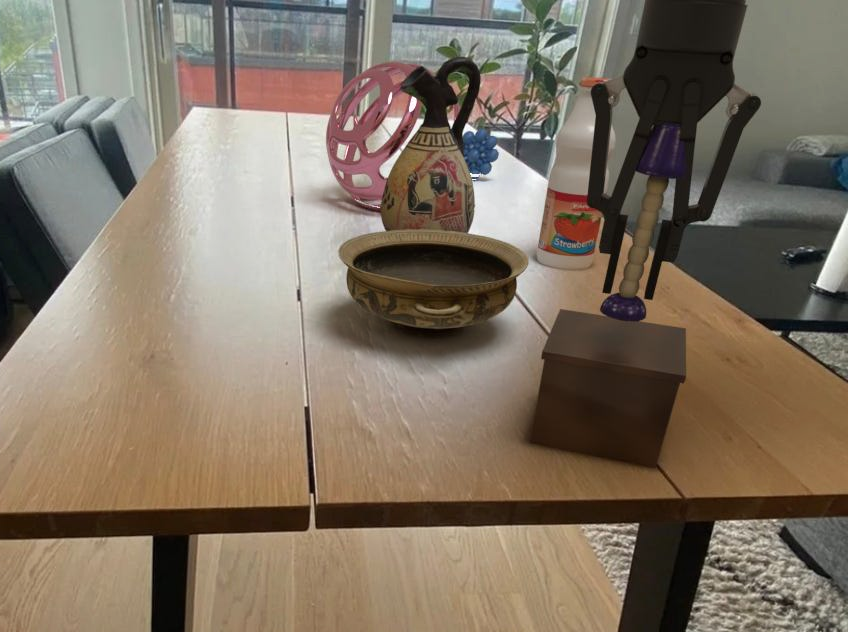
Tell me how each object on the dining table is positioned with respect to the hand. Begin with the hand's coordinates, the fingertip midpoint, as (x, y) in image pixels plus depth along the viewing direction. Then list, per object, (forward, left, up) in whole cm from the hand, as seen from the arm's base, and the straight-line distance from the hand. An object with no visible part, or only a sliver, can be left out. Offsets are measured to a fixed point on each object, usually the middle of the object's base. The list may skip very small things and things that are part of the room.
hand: (628, 291), depth 71 cm
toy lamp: (0, 0, -2) cm, 2 cm away
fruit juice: (+11, -61, -15) cm, 63 cm away
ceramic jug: (+33, -54, -15) cm, 65 cm away
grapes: (+41, -122, -15) cm, 130 cm away
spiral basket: (+51, -84, -15) cm, 99 cm away
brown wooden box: (0, 0, -15) cm, 15 cm away
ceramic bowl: (+24, -21, -15) cm, 35 cm away
